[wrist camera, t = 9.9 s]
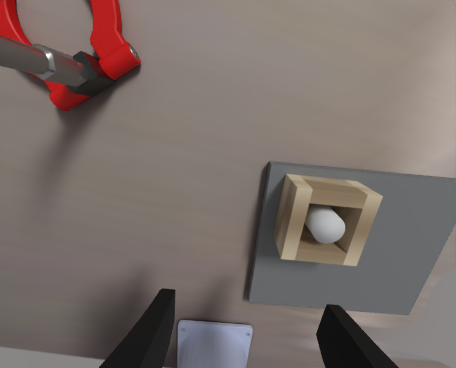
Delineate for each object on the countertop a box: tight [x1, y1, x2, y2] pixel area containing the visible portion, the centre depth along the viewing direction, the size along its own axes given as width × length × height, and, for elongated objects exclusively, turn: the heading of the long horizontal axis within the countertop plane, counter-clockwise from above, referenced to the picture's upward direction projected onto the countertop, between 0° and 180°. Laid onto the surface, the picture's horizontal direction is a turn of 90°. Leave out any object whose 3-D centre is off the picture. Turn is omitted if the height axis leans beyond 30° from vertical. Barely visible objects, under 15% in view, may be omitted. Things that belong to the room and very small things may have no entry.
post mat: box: [248, 161, 456, 315], centre depth 18 cm, size 14×16×4 cm
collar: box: [273, 174, 383, 266], centre depth 16 cm, size 6×6×3 cm
